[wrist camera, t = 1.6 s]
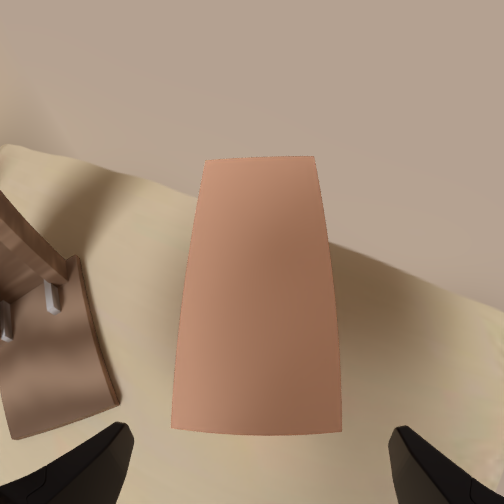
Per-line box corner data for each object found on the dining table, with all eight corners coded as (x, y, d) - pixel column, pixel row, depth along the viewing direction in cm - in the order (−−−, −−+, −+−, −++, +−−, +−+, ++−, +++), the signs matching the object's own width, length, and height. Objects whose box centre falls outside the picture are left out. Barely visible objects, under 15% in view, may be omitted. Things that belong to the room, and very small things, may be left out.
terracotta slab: (302, 419, 16) (341, 431, 6) (232, 419, 16) (170, 427, 6) (299, 280, 21) (313, 156, 11) (237, 281, 21) (205, 160, 12)
